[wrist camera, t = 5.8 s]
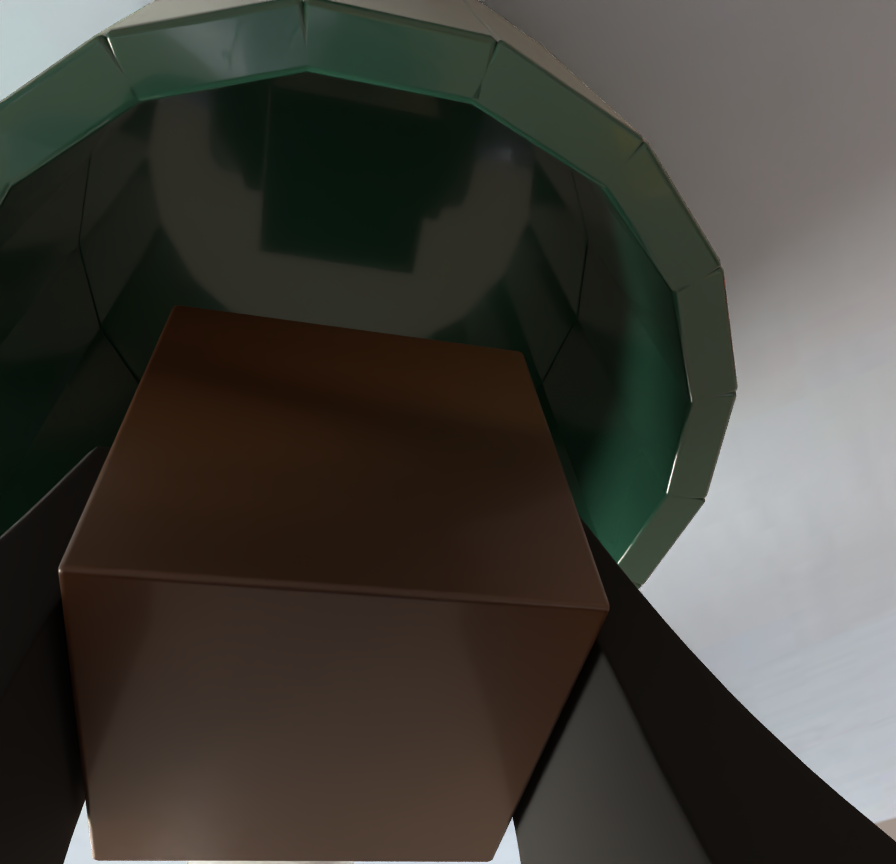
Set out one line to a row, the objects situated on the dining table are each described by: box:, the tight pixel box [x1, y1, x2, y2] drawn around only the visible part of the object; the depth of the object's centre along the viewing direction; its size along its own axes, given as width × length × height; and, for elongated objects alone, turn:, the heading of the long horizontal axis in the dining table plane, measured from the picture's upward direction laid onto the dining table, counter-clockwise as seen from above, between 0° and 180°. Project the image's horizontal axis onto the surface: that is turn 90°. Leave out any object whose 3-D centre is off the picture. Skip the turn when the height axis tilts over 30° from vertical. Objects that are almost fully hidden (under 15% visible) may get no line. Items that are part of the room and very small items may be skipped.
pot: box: [0, 0, 737, 589], centre depth 13 cm, size 11×12×6 cm
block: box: [58, 305, 610, 862], centre depth 9 cm, size 4×4×4 cm
